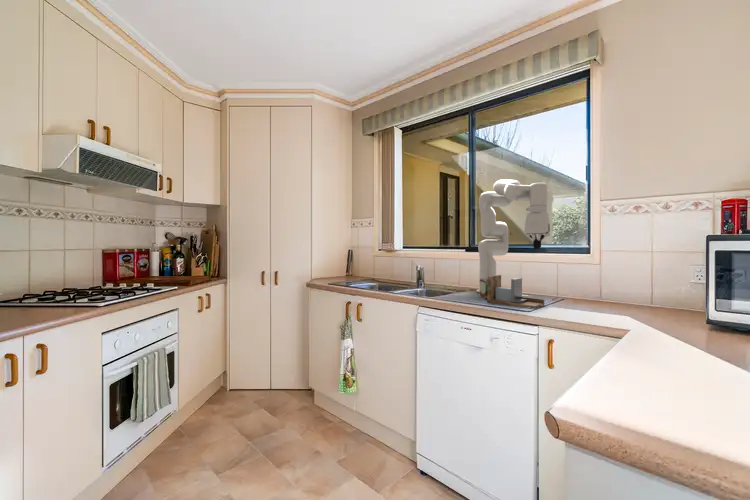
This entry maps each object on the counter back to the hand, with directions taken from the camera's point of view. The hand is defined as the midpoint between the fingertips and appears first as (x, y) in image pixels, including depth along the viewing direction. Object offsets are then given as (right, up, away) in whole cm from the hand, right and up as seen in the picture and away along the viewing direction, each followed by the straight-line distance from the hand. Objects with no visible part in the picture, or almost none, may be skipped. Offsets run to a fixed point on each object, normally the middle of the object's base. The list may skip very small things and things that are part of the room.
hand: (537, 249), depth 164 cm
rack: (-7, -27, +8) cm, 29 cm away
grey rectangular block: (-10, -26, +11) cm, 30 cm away
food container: (-15, -27, +26) cm, 40 cm away
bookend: (-6, -25, +6) cm, 27 cm away
